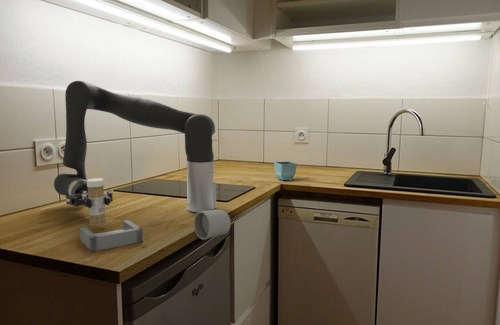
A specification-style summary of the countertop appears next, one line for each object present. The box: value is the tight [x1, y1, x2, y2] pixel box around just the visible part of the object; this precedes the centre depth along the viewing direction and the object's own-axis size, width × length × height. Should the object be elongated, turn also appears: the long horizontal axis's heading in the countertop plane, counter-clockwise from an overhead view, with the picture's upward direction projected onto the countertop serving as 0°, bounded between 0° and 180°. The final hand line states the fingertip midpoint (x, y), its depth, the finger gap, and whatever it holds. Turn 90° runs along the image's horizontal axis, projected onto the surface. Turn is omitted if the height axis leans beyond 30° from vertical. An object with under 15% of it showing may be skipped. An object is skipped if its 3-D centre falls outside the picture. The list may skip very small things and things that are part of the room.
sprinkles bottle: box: [87, 177, 107, 227], centre depth 112 cm, size 5×5×14 cm
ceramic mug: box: [193, 209, 232, 241], centre depth 109 cm, size 11×8×8 cm
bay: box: [79, 219, 144, 253], centre depth 103 cm, size 13×10×4 cm
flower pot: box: [273, 161, 297, 181], centre depth 195 cm, size 9×9×9 cm
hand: (99, 202), depth 110 cm, fingers closed on sprinkles bottle, 4 cm apart
